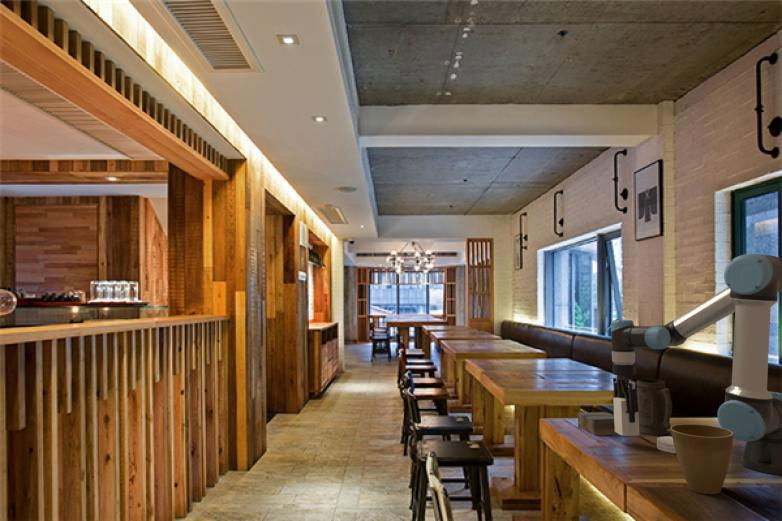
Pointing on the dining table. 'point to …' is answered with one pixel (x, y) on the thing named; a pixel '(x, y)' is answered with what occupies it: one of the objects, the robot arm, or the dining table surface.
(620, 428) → the cream block
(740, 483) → the dining table surface
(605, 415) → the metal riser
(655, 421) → the beer stein
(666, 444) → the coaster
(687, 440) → the plant pot
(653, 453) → the dining table surface
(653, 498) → the dining table surface
